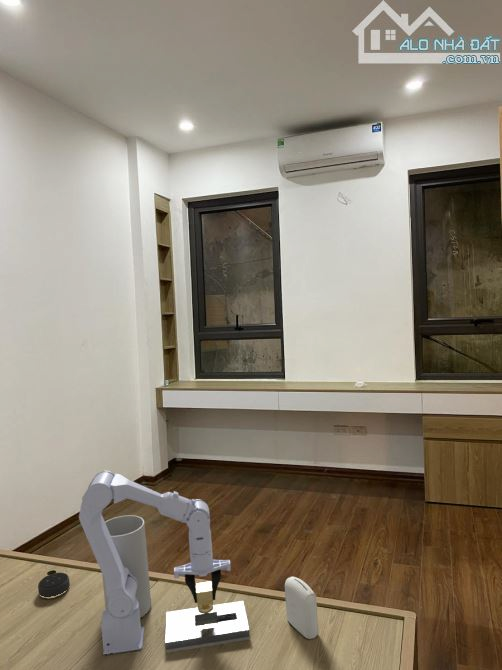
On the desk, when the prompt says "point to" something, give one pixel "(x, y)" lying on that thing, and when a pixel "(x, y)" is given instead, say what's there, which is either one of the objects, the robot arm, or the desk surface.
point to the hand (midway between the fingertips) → (204, 599)
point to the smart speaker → (53, 584)
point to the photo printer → (301, 607)
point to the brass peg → (204, 597)
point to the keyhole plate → (206, 627)
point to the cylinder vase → (132, 555)
